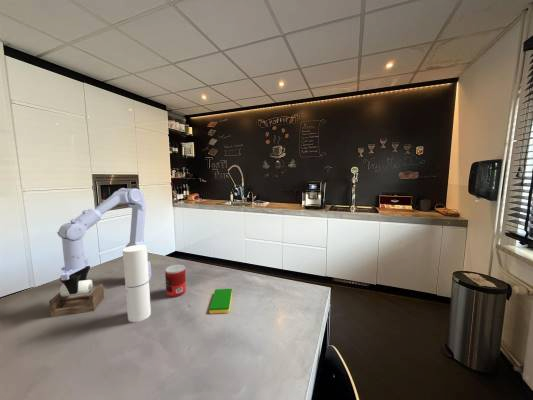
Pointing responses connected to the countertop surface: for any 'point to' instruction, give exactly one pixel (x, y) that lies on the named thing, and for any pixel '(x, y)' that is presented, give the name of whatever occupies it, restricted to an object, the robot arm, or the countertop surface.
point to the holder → (76, 303)
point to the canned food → (175, 280)
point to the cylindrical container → (137, 282)
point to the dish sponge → (221, 301)
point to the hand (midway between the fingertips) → (77, 289)
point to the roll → (83, 288)
